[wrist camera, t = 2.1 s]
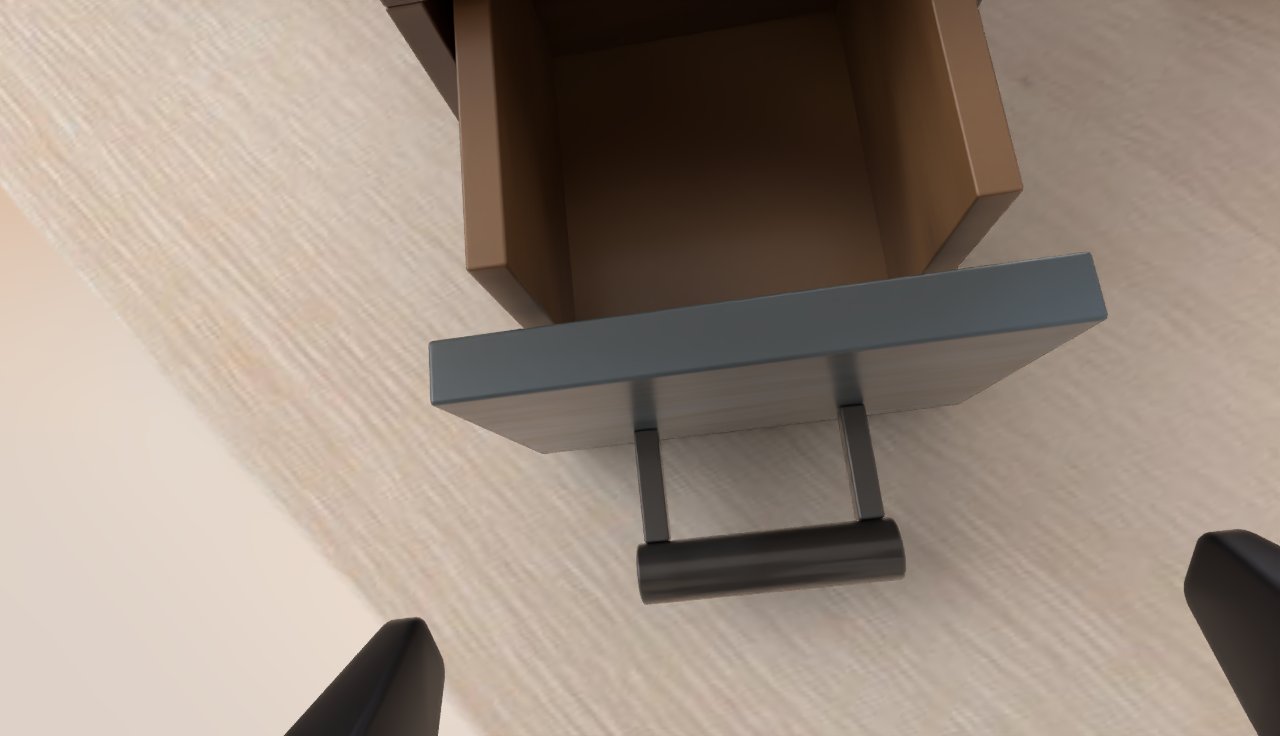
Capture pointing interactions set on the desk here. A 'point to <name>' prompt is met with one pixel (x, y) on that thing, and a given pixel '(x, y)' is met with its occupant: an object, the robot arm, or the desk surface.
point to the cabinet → (433, 40)
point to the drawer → (739, 245)
